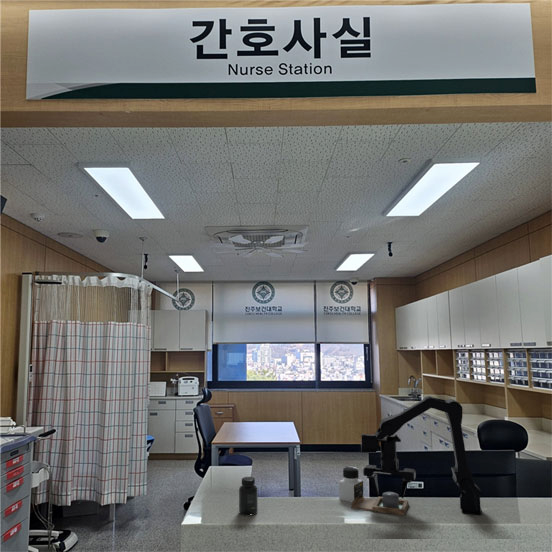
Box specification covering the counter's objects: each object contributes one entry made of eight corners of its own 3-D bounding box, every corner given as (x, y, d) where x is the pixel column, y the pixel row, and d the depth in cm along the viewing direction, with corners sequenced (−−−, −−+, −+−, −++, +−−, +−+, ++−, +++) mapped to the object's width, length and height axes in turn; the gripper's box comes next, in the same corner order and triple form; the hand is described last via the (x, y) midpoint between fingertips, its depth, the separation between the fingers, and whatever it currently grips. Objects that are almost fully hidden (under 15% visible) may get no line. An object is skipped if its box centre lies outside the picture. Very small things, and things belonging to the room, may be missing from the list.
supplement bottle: (260, 509, 181) (259, 476, 182) (254, 516, 174) (254, 482, 176) (242, 508, 183) (242, 475, 184) (236, 515, 176) (236, 480, 177)
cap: (400, 505, 183) (399, 492, 184) (397, 511, 178) (397, 497, 178) (384, 503, 185) (383, 490, 186) (381, 508, 180) (381, 495, 180)
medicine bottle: (354, 503, 187) (353, 471, 189) (338, 499, 192) (338, 468, 193) (363, 498, 193) (363, 467, 194) (348, 494, 197) (347, 464, 199)
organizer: (408, 504, 185) (408, 500, 185) (404, 515, 174) (404, 510, 174) (358, 498, 192) (357, 494, 192) (351, 508, 181) (351, 503, 182)
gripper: (416, 450, 187) (418, 492, 186) (368, 446, 195) (369, 486, 193) (413, 457, 177) (414, 502, 176) (362, 453, 184) (363, 495, 183)
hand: (390, 496), depth 182 cm, fingers open, 9 cm apart
